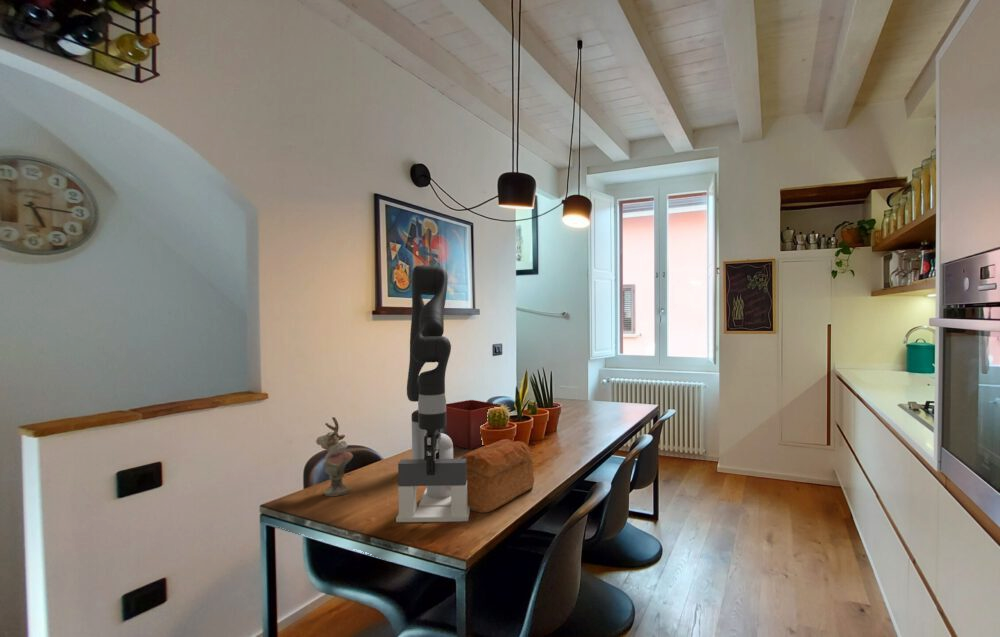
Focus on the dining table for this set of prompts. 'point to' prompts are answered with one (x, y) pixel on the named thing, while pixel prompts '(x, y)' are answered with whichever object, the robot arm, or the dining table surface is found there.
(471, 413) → the plant pot
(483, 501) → the bread
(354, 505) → the dining table surface
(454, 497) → the display stand
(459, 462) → the gray bar
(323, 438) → the decorative bust
